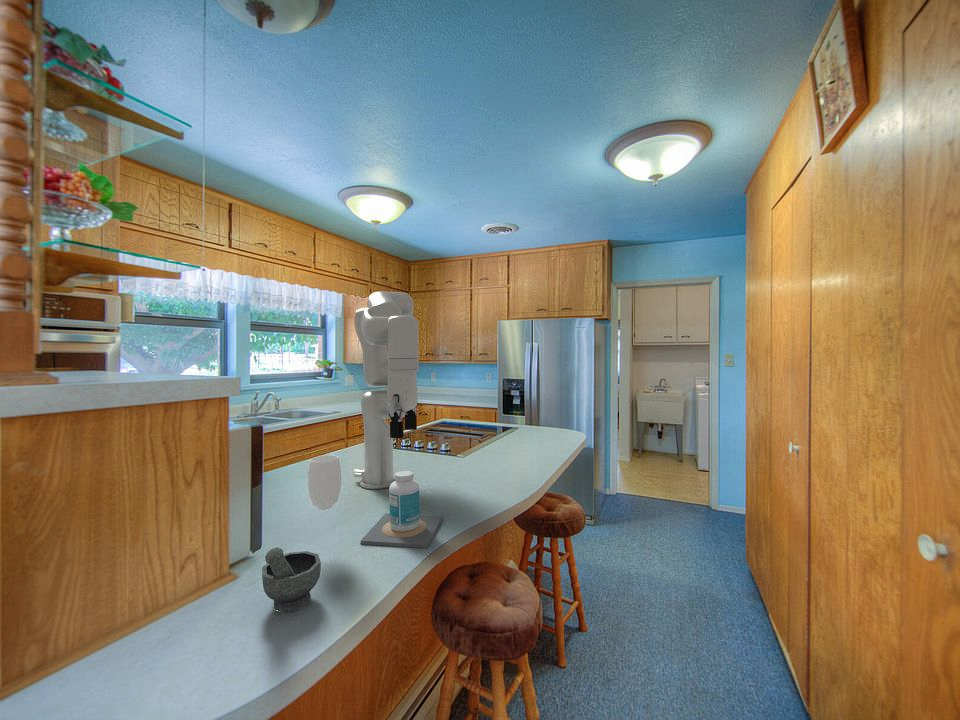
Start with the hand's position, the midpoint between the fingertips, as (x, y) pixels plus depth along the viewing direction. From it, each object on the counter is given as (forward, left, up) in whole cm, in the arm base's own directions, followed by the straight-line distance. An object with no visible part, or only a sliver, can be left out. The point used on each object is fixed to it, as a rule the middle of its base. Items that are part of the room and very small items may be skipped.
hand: (404, 433), depth 102 cm
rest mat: (0, -1, -24) cm, 24 cm away
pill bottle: (0, 0, -24) cm, 24 cm away
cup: (-15, -12, -25) cm, 31 cm away
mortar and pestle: (-11, -32, -25) cm, 42 cm away
